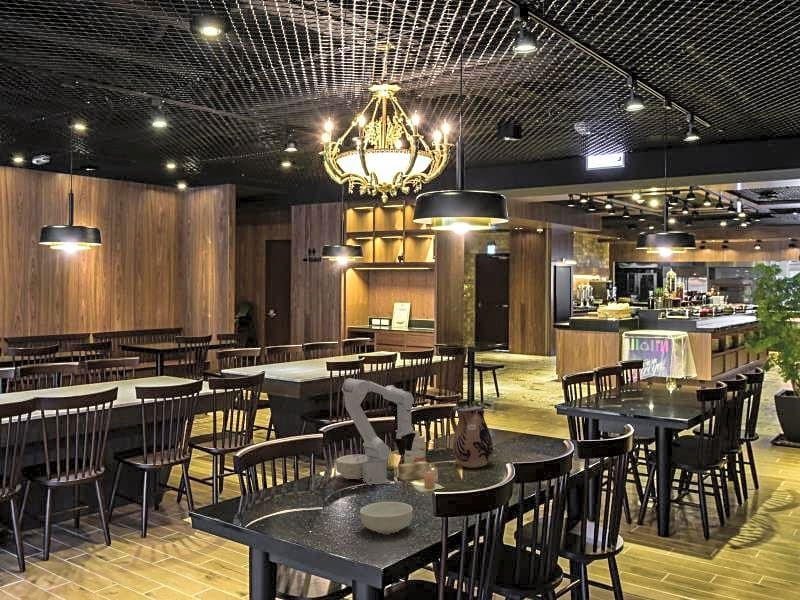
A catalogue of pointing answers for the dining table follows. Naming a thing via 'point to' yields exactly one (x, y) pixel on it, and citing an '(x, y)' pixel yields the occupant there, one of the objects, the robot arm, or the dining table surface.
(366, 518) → the cereal bowl
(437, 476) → the grey shiny short cylinder
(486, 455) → the ceramic pitcher
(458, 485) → the dining table surface
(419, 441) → the ink cartridge box
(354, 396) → the robot arm
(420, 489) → the mat
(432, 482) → the terracotta cap
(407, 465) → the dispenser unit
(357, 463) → the paper bowls
